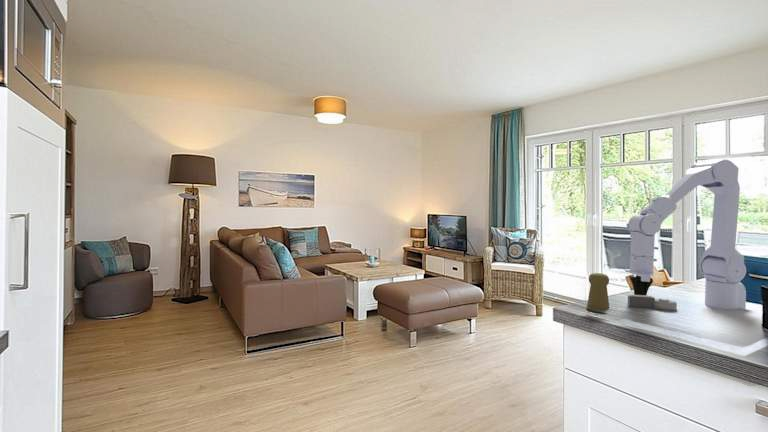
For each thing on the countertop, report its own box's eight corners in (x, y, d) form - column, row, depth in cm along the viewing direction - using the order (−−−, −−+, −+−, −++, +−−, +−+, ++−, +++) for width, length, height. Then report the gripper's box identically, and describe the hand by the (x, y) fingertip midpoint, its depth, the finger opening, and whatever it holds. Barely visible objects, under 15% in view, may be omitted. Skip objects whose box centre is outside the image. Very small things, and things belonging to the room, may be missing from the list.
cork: (613, 314, 110) (614, 275, 110) (590, 313, 111) (590, 275, 111) (605, 309, 116) (606, 272, 116) (583, 307, 117) (584, 271, 117)
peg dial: (670, 306, 114) (670, 294, 114) (680, 311, 109) (681, 299, 108) (624, 303, 117) (625, 292, 117) (632, 308, 111) (632, 296, 111)
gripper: (622, 251, 122) (621, 294, 123) (629, 257, 109) (627, 305, 110) (649, 253, 119) (647, 297, 120) (659, 259, 106) (657, 309, 107)
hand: (640, 301), depth 115 cm, fingers closed, pressing on peg dial
